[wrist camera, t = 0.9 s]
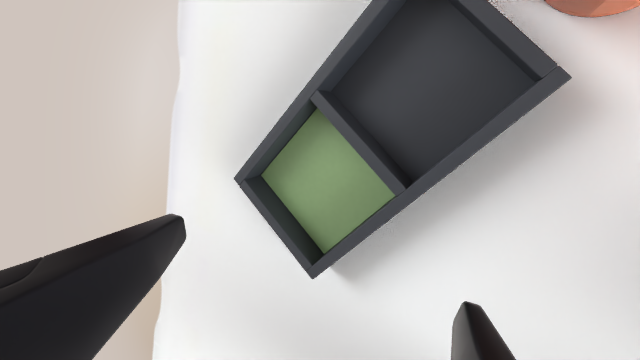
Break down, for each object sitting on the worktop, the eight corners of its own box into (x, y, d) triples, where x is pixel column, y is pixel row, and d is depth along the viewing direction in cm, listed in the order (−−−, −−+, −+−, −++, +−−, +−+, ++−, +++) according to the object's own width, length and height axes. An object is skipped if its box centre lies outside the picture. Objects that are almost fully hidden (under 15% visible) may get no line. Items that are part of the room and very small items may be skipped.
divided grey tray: (560, 81, 16) (572, 77, 14) (327, 265, 25) (312, 279, 23) (427, -41, 18) (419, -62, 16) (253, 172, 27) (232, 178, 25)
